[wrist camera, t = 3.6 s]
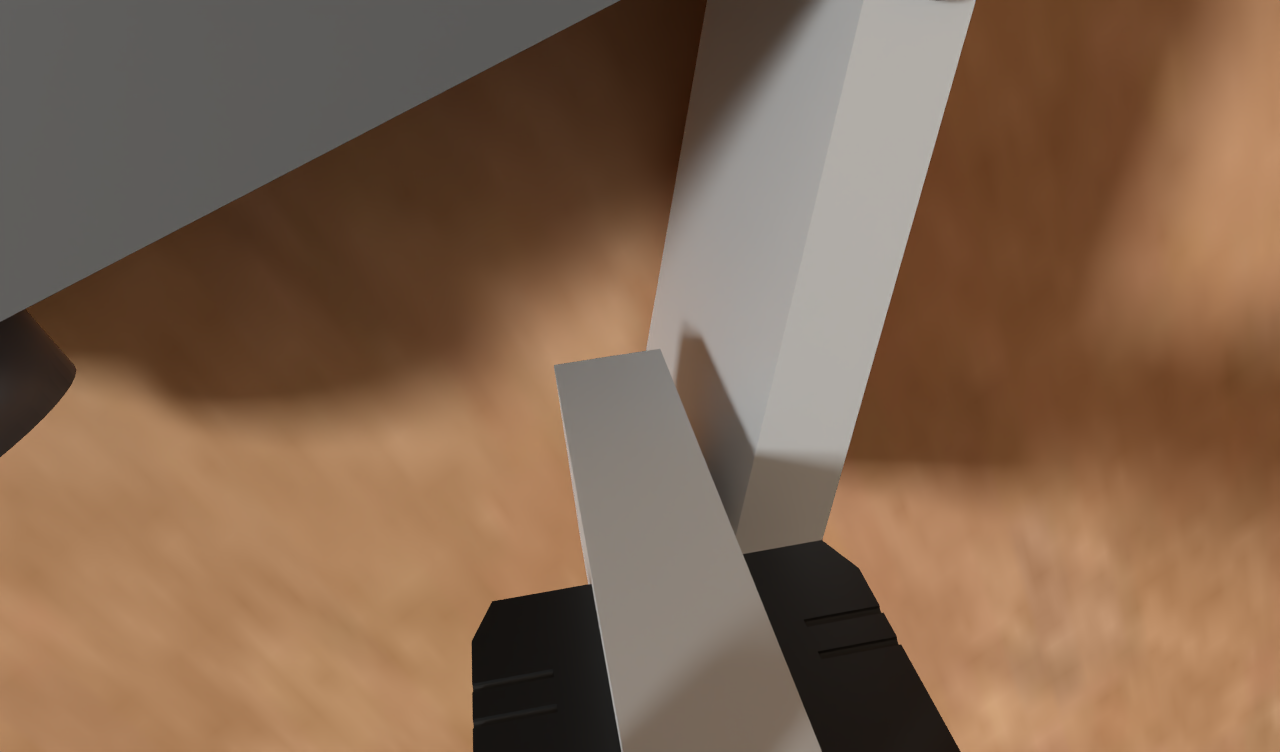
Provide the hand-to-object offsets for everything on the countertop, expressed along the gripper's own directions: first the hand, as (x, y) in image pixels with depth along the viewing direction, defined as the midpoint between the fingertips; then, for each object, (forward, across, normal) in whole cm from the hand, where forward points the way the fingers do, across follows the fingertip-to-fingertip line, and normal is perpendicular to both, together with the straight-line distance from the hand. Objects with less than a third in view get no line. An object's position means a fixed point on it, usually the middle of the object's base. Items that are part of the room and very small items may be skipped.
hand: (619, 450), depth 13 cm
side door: (+4, +2, +2) cm, 5 cm away
